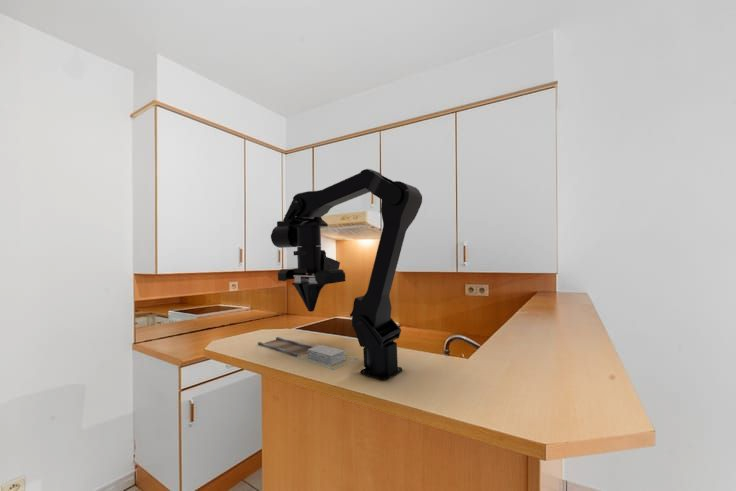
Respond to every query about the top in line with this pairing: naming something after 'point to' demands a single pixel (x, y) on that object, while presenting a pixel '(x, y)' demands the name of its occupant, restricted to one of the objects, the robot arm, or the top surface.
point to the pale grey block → (316, 352)
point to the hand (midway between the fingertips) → (311, 311)
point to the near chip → (332, 356)
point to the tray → (329, 367)
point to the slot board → (286, 346)
